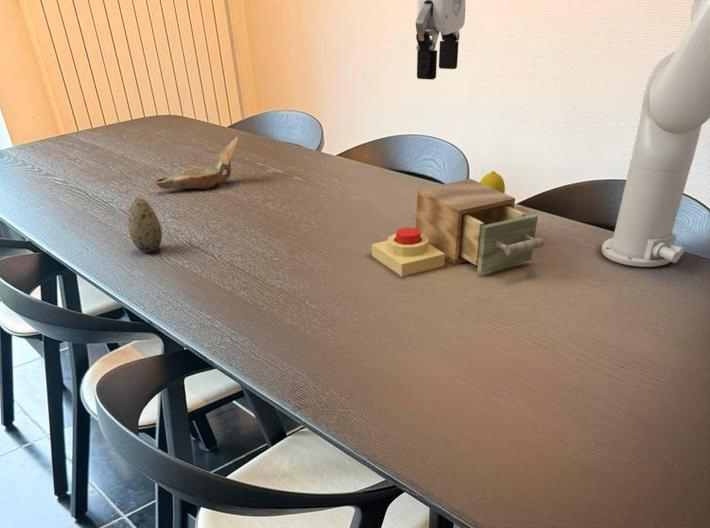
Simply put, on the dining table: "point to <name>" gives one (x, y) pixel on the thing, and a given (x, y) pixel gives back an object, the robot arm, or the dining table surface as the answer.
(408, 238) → the red button
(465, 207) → the cabinet
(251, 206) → the dining table surface
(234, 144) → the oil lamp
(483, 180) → the lemon
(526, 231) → the drawer
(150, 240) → the decorative egg
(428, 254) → the button box
